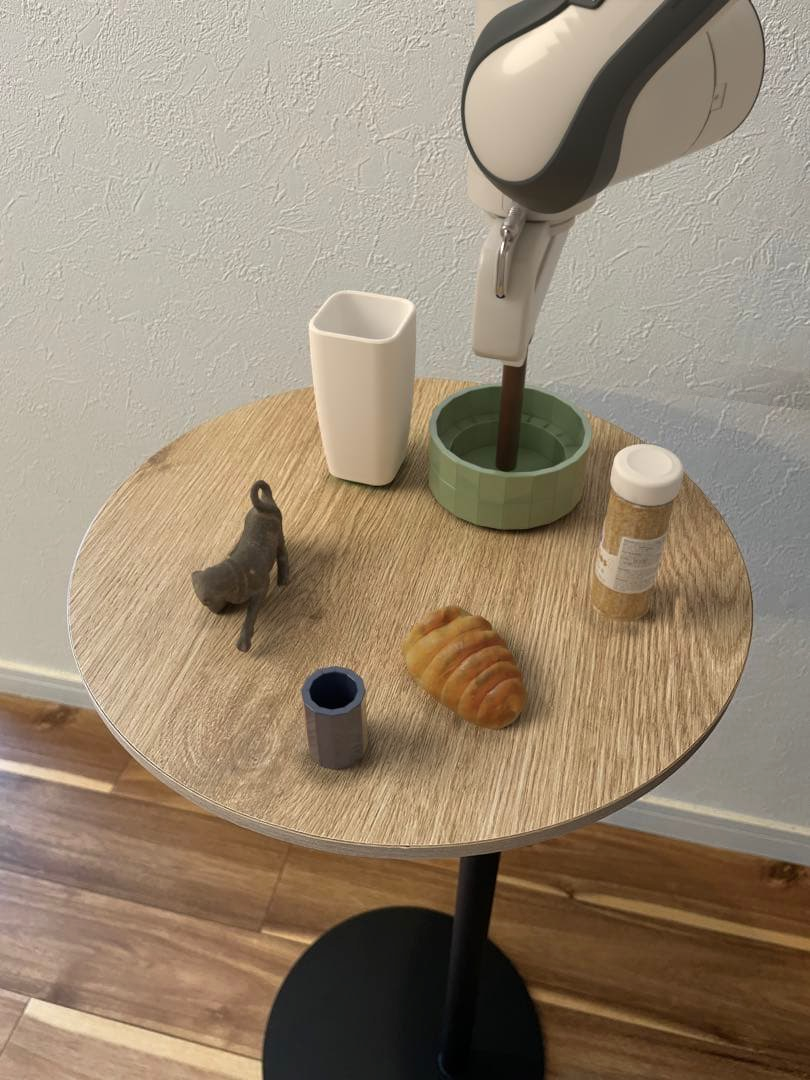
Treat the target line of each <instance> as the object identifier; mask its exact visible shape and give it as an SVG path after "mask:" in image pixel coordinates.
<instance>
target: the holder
mask: <svg viewBox="0 0 810 1080" xmlns="http://www.w3.org/2000/svg"><path fill="white" fill-rule="evenodd" d="M300 694H301V702H302V703H301V704H302V713H303V721H304V730H305V739H306V740H305V741H306V747H307V751H308V756H309V757H310V758H311V759H312V761H313V762H314V763H315V764H317V765H318V766H320V767H321V768H324V769H328V770H344V769H348V768H350V767H353V766H355V765H356V764H357V763H358V762H359V761H361V760H362V758H364V756H365V754H366V752H367V748H368V746H369V738H368V736H369V735H368V717H367V716H368V712H367V690H366V686H365V682H364V680H363V678H362V677H361V676H360V675H359V674H358V673H356V672H355V671H354V670H353V669H351V668H347V667H342V666H339V665H331V666H326V667H322V668H318V669H317V670H315V671H314V672H312V673H311V674H310V675H308V676H307V677H306V679H305V680H304V683H303V685H302V687H301V690H300Z"/></svg>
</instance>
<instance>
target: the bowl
mask: <svg viewBox="0 0 810 1080" xmlns="http://www.w3.org/2000/svg"><path fill="white" fill-rule="evenodd" d="M501 387H502V382H488V383H483V384H478V385H473V386H468V387H465V388H463V389H460V390H459V391H456V392H454V393H452V394H450V395H448V396H447V397H445V399H443V400H442V401H441V402H440V403H439V404H437V405H436V406H435V407H434V409H433V411H432V413H431V415H430V418H429V420H428V433H427V434H428V435H427V436H428V438H427V439H428V440H427V442H428V443H427V447H428V448H427V480H428V488H429V490H430V492H431V494H432V495H433V496H434V498H435V500H436V502H437V503H438V504H439V505H441V507H443V508H444V509H446V510H447V511H448V512H450V514H452V515H453V516H454V517H457V518H459V519H461V520H464V521H466V522H468V523H471V524H474V525H476V526H481V527H486V528H491V529H497V530H528V529H533V528H537V527H540V526H545V525H549V524H551V523H555V522H556V521H557V520H559V519H561V518H562V517H564V516H566V515H568V514H569V513H571V512H572V511H573V509H574V508H576V506H577V505H578V504H579V503H580V501H581V500H582V498H583V492H584V489H585V484H586V478H587V471H588V465H589V458H590V453H591V446H592V440H593V435H594V434H593V429H592V426H591V423H590V420H589V417H588V416H587V415H586V413H585V412H583V411H582V409H581V408H580V407H579V406H578V405H577V404H576V403H574V402H573V401H572V400H570V399H568V398H566V397H565V396H563V395H561V394H560V393H557V392H555V391H552V390H549V389H546V388H544V387H541V386H537V385H530V384H525V387H524V397H523V407H522V417H521V427H520V437H519V447H518V457H517V466H516V468H515V470H513V471H511V472H503V471H500V470H498V469H497V468H496V466H495V461H496V448H497V436H498V424H499V412H500V399H501Z"/></svg>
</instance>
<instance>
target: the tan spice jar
mask: <svg viewBox="0 0 810 1080" xmlns="http://www.w3.org/2000/svg"><path fill="white" fill-rule="evenodd" d="M683 477H684V465H683V463H682V461H681V460H680V458H679V457H678V456H677V455H676V454H675V453H674V452H673V451H670V450H669V449H667V448H665V447H662V446H658V445H655V444H647V443H638V444H632V445H628V446H626V447H624V448H622V449H620V450H619V451H618V452H617V454H616V455H615V456H614V458H613V462H612V466H611V472H610V479H609V481H610V494H609V500H608V503H607V510H606V514H605V517H604V521H603V525H602V531H601V536H600V537H601V538H600V541H599V545H598V546H599V547H598V551H597V556H596V561H595V568H594V571H595V572H594V576H593V581H592V587H591V588H590V590H589V591H590V592H589V595H588V600H589V603H590V605H591V608H592V609H593V610H594V611H595V612H596V613H597V614H598V615H600V616H601V617H604V618H605V619H607V620H611V621H613V622H621V623H629V622H630V623H631V622H635V621H638V620H640V619H641V618H642V617H644V616H646V615H647V613H648V612H649V610H650V606H651V605H650V604H651V603H650V599H651V595H652V590H653V587H654V584H655V583H656V579H657V575H658V571H659V568H660V563H661V559H662V555H663V552H664V549H665V544H666V541H667V540H666V539H667V535H668V531H669V527H670V521H671V515H672V511H673V508H674V503H675V500H676V499H677V497H678V495H679V493H680V490H681V487H682V481H683Z"/></svg>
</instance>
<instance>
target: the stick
mask: <svg viewBox="0 0 810 1080" xmlns="http://www.w3.org/2000/svg"><path fill="white" fill-rule="evenodd" d="M529 347H530V344H528V347H527V355H526V358H525V361H524V364H523V365H522V366H520V367H515V366H508V365H504V364H503V363H502V375H501V383H502V387H501V399H500V412H499V424H498V436H497V448H496V461H495V466H496V468H497V469H498V470H500V471H503V472H511V471H513V470H515V468H516V466H517V457H518V447H519V437H520V427H521V417H522V407H523V397H524V387H525V385H526V376H527V365H528V357H529Z"/></svg>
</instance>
